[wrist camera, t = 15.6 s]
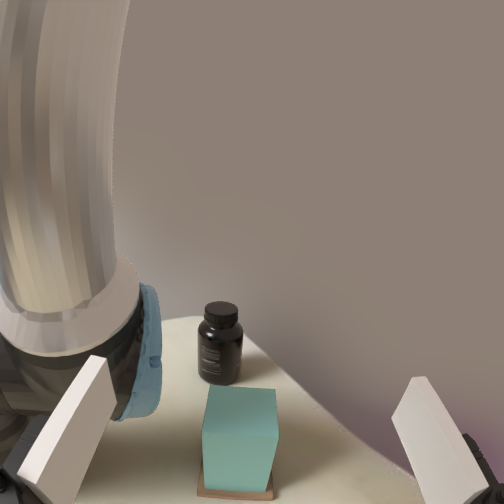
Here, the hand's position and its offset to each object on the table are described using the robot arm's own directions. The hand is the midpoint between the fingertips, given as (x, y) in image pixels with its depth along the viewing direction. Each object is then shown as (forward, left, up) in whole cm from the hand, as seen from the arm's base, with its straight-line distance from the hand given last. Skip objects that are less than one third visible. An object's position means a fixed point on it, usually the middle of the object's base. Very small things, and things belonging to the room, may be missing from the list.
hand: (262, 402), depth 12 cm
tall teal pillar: (+4, +10, -22) cm, 25 cm away
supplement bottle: (+9, +29, -23) cm, 38 cm away
